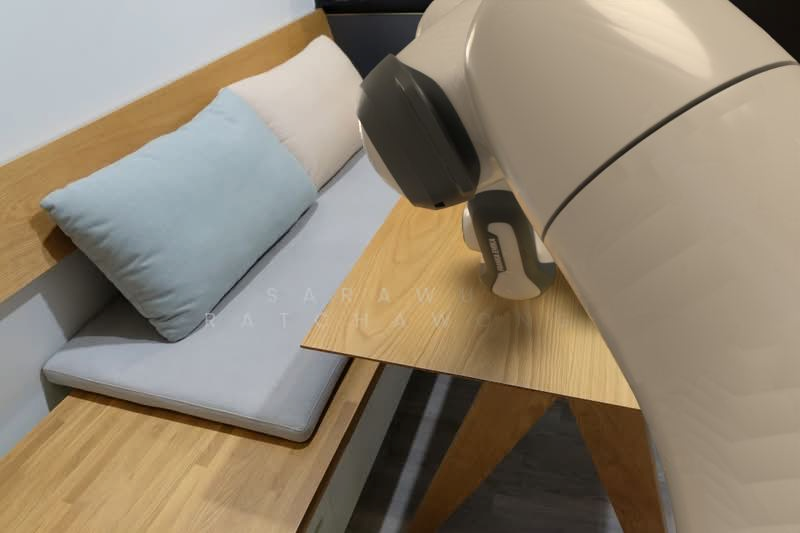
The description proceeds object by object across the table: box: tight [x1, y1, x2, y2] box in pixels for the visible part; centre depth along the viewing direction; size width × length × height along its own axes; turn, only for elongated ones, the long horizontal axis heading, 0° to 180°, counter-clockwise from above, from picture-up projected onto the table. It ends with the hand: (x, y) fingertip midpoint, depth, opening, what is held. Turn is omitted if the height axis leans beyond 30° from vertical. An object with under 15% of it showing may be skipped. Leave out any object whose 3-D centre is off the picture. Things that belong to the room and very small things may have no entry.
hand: (672, 229), depth 75 cm, fingers closed on doll, 5 cm apart
